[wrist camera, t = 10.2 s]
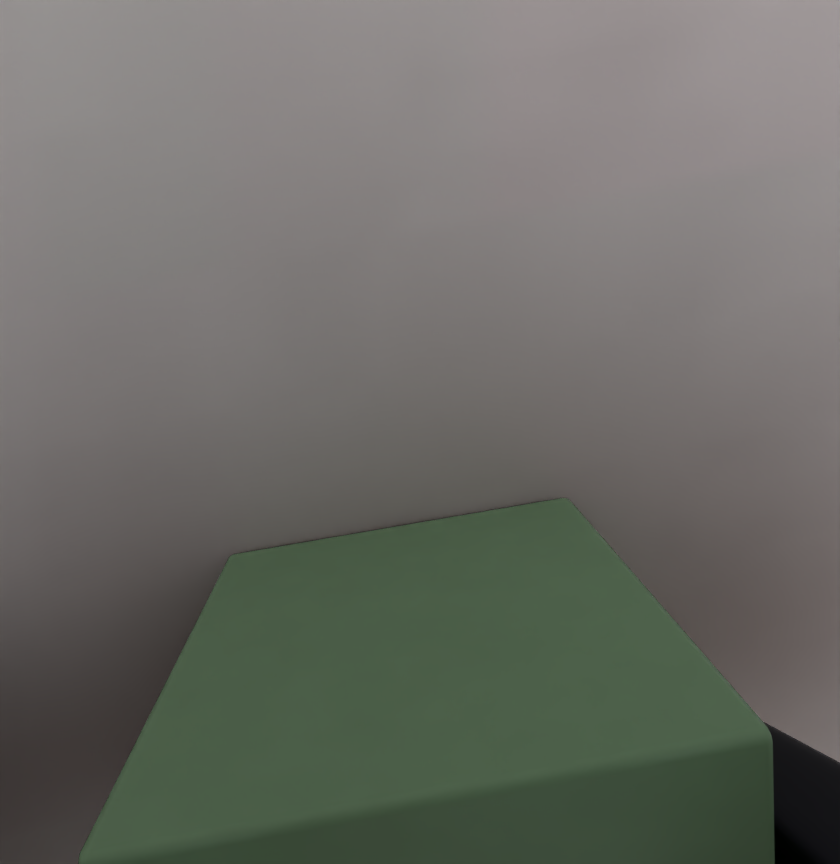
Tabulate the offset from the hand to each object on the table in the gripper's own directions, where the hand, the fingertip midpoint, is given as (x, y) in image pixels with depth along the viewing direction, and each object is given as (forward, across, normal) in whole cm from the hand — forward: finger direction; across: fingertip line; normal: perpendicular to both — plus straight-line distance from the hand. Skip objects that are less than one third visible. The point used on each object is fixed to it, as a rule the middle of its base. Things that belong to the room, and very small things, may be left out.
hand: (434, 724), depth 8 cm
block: (+1, 0, 0) cm, 1 cm away
